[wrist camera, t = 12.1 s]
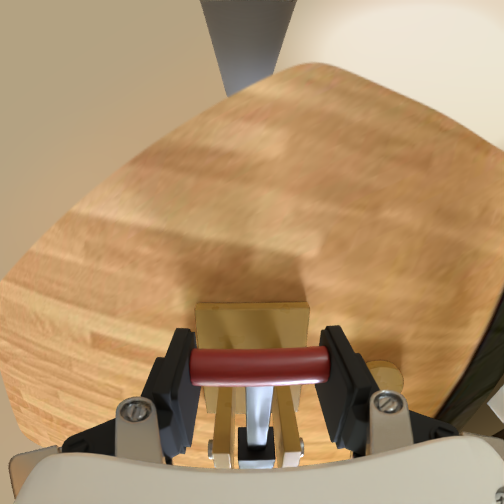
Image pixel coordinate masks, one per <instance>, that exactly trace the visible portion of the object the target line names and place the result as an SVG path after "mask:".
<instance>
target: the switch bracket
mask: <svg viewBox="0 0 504 504" xmlns="http://www.w3.org/2000/svg"><path fill="white" fill-rule="evenodd" d="M309 314H310V307H309V305H308V303H307V302H280V303H197V304H196V307H195V319H196V329H197V339H198V347H199V349H270V348H296V347H306V344H307V334H308V324H309ZM301 386H302V385H288V386H274V393H273V401H272V409H271V413H272V417H273V427H274V436H275V446H276V456H277V465H278V468H283V467H295V466H299V461H300V457H303V455H304V442H303V439H302V438H299V432H298V427H297V421H296V416H295V412H297V411H298V407H299V400H300V393H301ZM203 387H204V394H205V401H206V408H207V413H216V416H215V426H214V437H213V440H209V442H208V457H209V459H213V461H214V466H215V468H217V469H234V441H235V414H246V398H245V387H211V386H203Z"/></svg>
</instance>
